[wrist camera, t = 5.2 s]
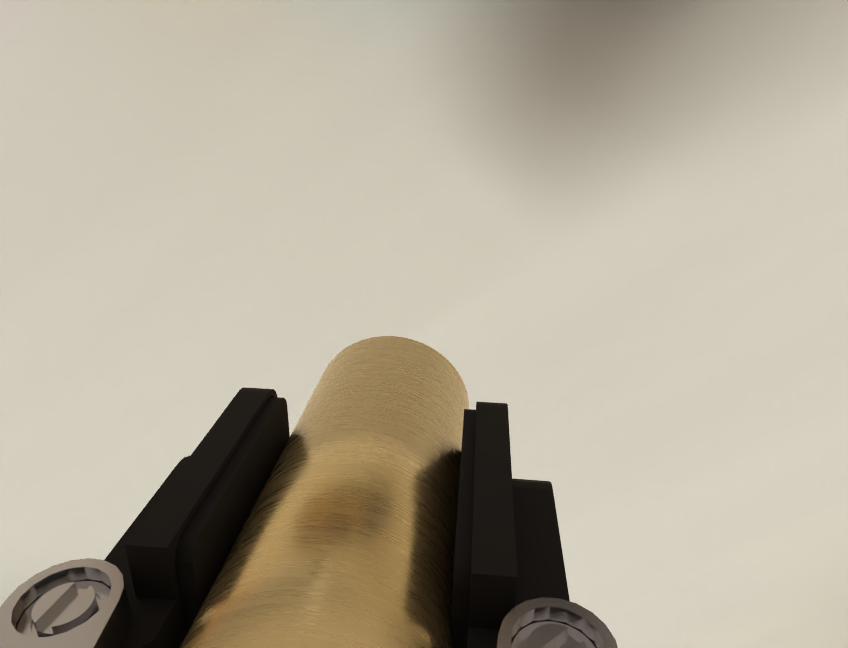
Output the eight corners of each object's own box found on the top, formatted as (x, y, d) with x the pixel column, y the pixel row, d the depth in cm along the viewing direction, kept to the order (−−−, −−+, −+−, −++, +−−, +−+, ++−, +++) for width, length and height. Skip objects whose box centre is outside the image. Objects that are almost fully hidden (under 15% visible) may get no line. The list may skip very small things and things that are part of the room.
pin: (472, 340, 12) (429, 1151, 3) (465, 473, 14) (419, 1331, 4) (313, 331, 13) (-149, 1058, 3) (322, 463, 14) (-3, 1254, 5)
